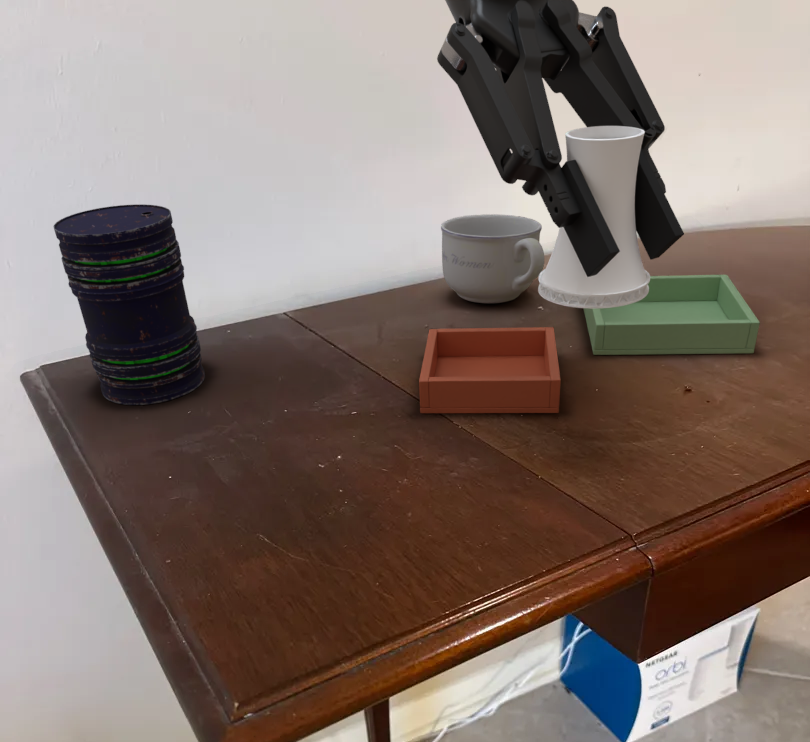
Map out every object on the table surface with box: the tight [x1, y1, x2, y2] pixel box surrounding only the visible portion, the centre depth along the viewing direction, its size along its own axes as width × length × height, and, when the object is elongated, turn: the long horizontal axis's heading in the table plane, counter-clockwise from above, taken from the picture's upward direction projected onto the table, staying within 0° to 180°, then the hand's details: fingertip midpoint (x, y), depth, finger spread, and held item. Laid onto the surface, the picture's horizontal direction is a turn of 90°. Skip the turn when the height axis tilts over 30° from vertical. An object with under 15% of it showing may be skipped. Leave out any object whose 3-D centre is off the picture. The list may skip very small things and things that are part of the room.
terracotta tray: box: [418, 326, 562, 414], centre depth 72 cm, size 12×12×3 cm
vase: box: [537, 126, 651, 309], centre depth 54 cm, size 8×8×10 cm
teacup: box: [440, 213, 545, 304], centre depth 88 cm, size 14×11×8 cm
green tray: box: [582, 274, 761, 356], centre depth 81 cm, size 15×14×3 cm
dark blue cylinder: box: [53, 204, 206, 406], centre depth 73 cm, size 10×10×15 cm
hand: (635, 255), depth 52 cm, fingers closed on vase, 5 cm apart
